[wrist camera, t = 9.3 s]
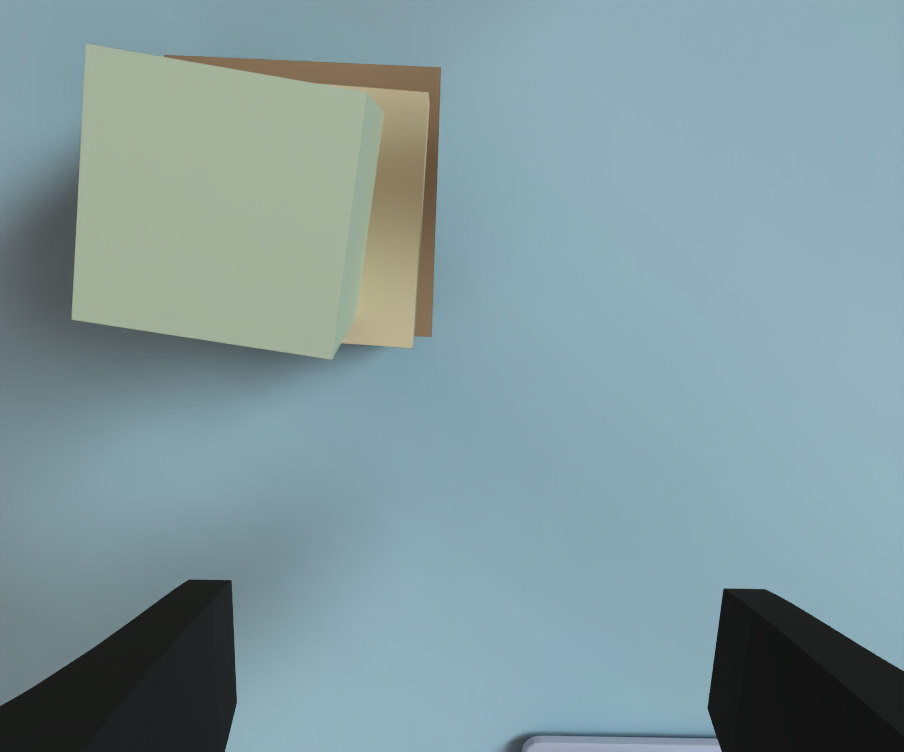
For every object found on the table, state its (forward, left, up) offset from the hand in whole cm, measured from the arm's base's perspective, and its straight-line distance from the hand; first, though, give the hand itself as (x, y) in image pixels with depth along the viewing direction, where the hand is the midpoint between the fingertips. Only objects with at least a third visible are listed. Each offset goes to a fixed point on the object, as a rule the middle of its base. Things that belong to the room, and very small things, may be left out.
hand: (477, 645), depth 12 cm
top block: (+6, +4, -6) cm, 9 cm away
